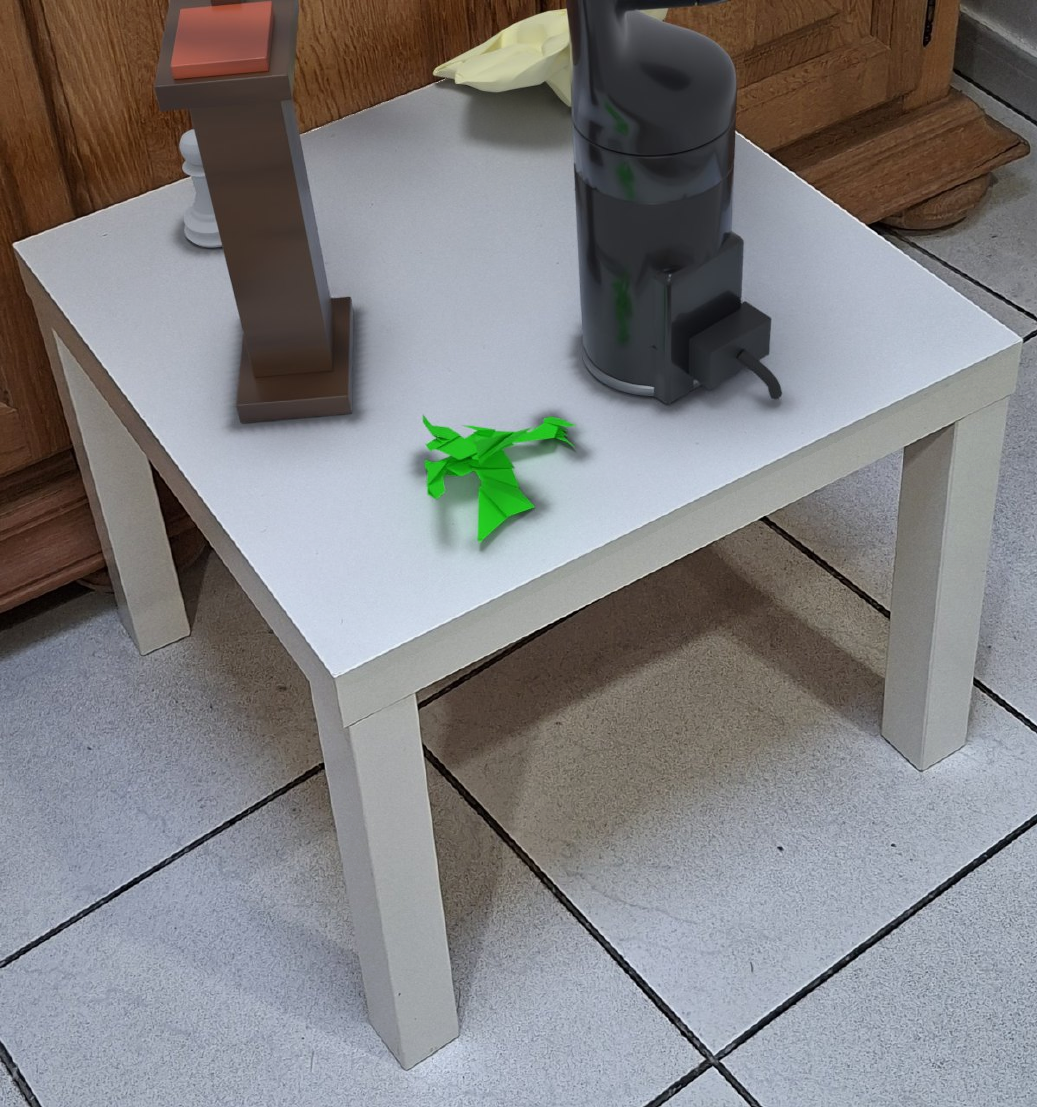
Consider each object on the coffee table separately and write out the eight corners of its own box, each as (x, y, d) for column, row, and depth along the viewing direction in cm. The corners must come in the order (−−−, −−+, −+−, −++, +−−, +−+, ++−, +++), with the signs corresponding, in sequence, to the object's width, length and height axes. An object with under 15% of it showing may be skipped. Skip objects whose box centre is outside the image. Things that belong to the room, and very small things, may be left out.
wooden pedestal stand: (249, 322, 109) (170, -8, 91) (354, 313, 108) (295, -19, 91) (240, 423, 102) (153, 86, 85) (351, 414, 102) (287, 74, 84)
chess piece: (196, 208, 118) (171, 111, 112) (258, 211, 117) (237, 113, 112) (176, 248, 115) (150, 149, 109) (241, 250, 114) (218, 152, 108)
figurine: (435, 459, 102) (581, 464, 101) (401, 547, 92) (564, 554, 91) (431, 366, 99) (581, 370, 98) (396, 446, 89) (564, 452, 88)
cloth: (427, 57, 131) (455, 129, 134) (438, 97, 114) (470, 179, 117) (687, -50, 130) (710, 25, 132) (737, -24, 113) (763, 61, 116)
